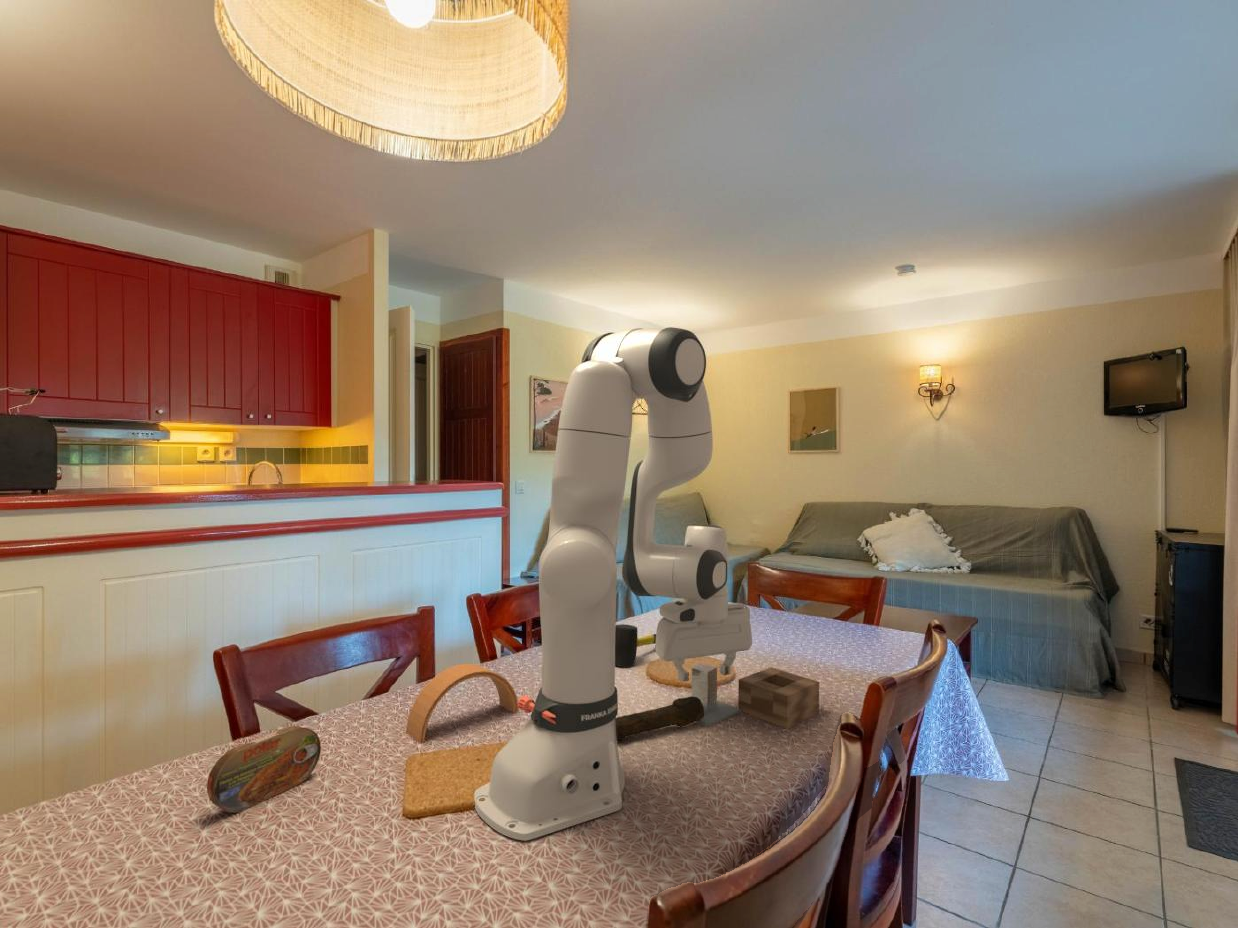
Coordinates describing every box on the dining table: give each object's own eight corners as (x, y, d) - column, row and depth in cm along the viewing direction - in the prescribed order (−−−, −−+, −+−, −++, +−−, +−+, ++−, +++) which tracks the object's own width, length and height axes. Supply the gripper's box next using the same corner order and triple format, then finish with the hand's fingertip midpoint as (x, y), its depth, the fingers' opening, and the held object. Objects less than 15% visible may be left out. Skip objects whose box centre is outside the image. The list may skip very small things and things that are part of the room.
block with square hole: (786, 728, 109) (787, 696, 109) (738, 709, 118) (738, 679, 118) (818, 712, 117) (819, 681, 117) (770, 695, 125) (771, 666, 125)
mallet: (668, 637, 167) (668, 603, 167) (687, 641, 163) (687, 606, 163) (606, 666, 143) (606, 626, 143) (626, 671, 139) (627, 630, 139)
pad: (707, 726, 110) (707, 723, 110) (668, 709, 117) (668, 706, 117) (740, 712, 117) (740, 709, 117) (701, 696, 124) (701, 694, 124)
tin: (214, 824, 79) (214, 761, 79) (203, 817, 81) (203, 754, 81) (322, 774, 92) (322, 720, 92) (310, 769, 94) (310, 715, 94)
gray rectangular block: (707, 713, 114) (707, 672, 114) (691, 708, 117) (691, 667, 117) (716, 707, 117) (717, 667, 117) (700, 703, 119) (701, 663, 119)
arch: (405, 732, 107) (406, 676, 107) (503, 703, 120) (504, 653, 120) (419, 744, 103) (419, 686, 102) (519, 712, 116) (519, 661, 116)
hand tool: (615, 746, 102) (614, 719, 102) (606, 735, 106) (606, 709, 106) (711, 725, 109) (711, 700, 109) (700, 716, 113) (700, 692, 113)
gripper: (740, 598, 124) (739, 665, 124) (652, 607, 116) (651, 678, 116) (759, 605, 118) (758, 675, 118) (667, 615, 110) (666, 690, 110)
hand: (704, 677), depth 117 cm, fingers open, 8 cm apart
